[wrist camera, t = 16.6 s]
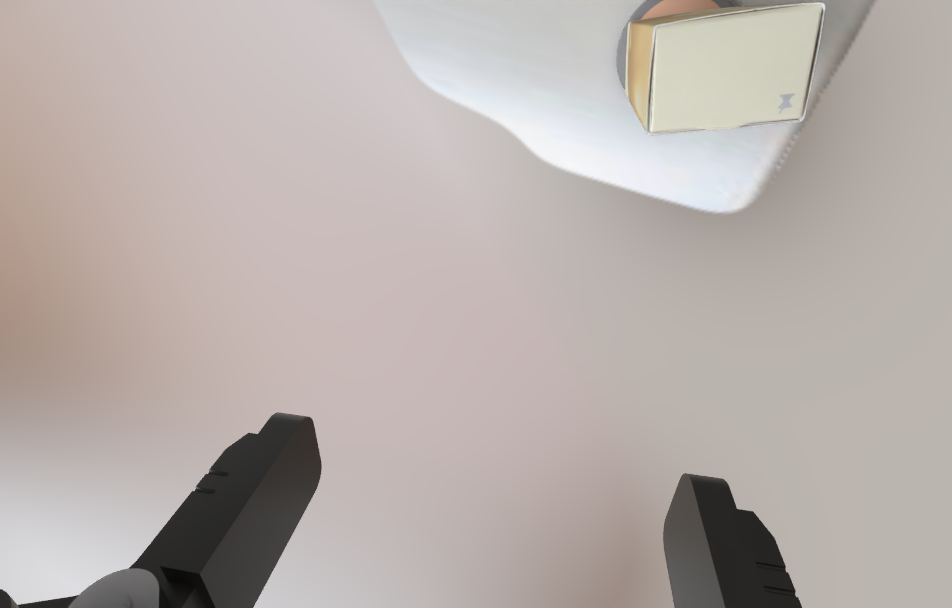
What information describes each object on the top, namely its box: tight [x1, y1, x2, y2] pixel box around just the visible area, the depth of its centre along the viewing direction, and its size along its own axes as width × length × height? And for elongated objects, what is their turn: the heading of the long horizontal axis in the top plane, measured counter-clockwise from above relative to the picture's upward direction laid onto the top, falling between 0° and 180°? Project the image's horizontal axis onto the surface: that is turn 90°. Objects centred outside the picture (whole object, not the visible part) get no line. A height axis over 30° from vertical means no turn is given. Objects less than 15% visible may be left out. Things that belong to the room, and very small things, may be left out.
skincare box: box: [625, 2, 826, 135], centre depth 24 cm, size 6×4×12 cm
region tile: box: [617, 0, 732, 90], centre depth 30 cm, size 7×7×1 cm
